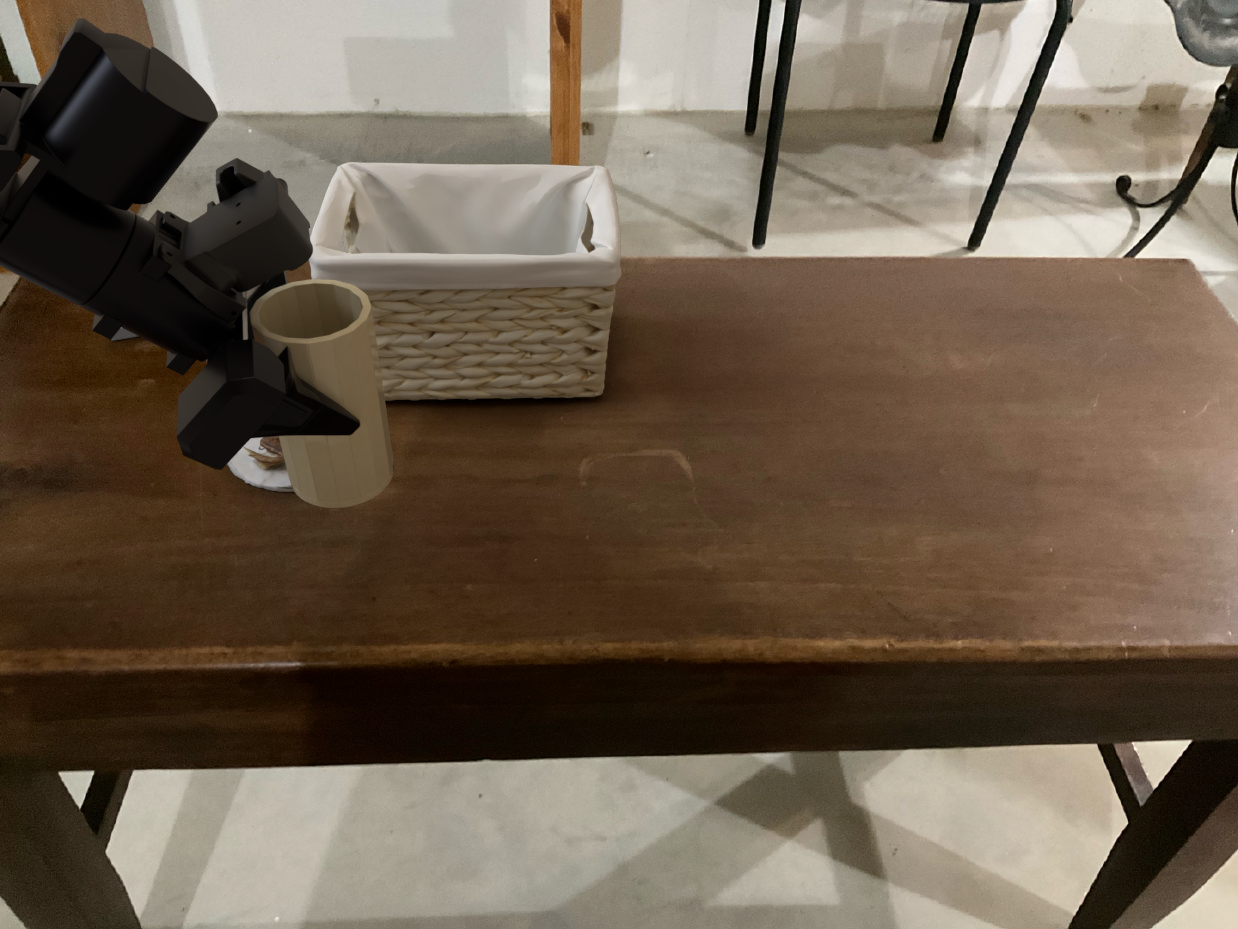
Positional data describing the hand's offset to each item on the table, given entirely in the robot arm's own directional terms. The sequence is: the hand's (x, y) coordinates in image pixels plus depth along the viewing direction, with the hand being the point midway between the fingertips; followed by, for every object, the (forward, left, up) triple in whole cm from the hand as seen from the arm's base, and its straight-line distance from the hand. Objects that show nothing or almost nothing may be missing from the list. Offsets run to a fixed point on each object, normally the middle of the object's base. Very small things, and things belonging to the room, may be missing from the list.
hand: (350, 392), depth 60 cm
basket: (+13, +19, -14) cm, 27 cm away
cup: (-2, 0, -7) cm, 7 cm away
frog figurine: (-4, +12, -14) cm, 19 cm away
